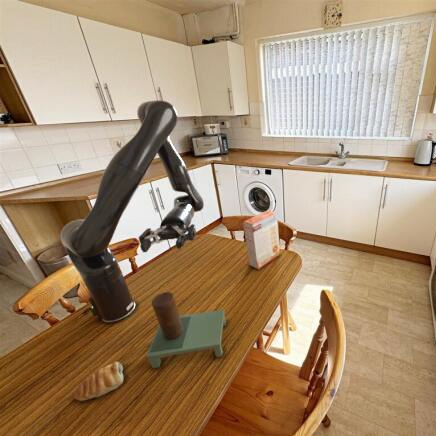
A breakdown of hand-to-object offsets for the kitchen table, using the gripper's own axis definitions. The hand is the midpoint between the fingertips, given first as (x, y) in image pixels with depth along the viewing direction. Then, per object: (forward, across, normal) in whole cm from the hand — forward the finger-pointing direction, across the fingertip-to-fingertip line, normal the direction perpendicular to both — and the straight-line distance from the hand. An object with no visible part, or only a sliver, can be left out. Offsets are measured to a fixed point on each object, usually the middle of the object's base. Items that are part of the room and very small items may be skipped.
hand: (160, 247), depth 63 cm
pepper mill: (+8, 0, +23) cm, 24 cm away
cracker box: (-30, +27, +28) cm, 49 cm away
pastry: (+15, -15, +28) cm, 35 cm away
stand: (+8, +4, +28) cm, 29 cm away
